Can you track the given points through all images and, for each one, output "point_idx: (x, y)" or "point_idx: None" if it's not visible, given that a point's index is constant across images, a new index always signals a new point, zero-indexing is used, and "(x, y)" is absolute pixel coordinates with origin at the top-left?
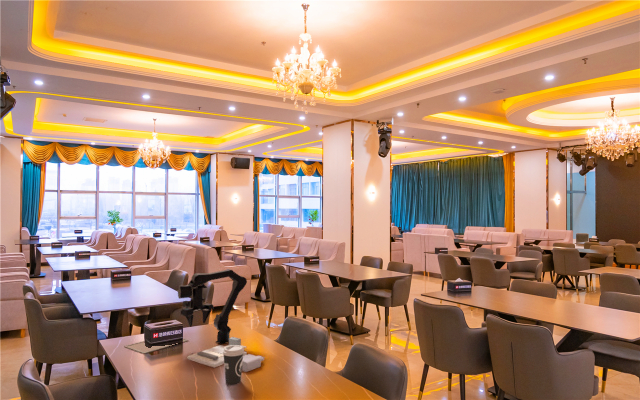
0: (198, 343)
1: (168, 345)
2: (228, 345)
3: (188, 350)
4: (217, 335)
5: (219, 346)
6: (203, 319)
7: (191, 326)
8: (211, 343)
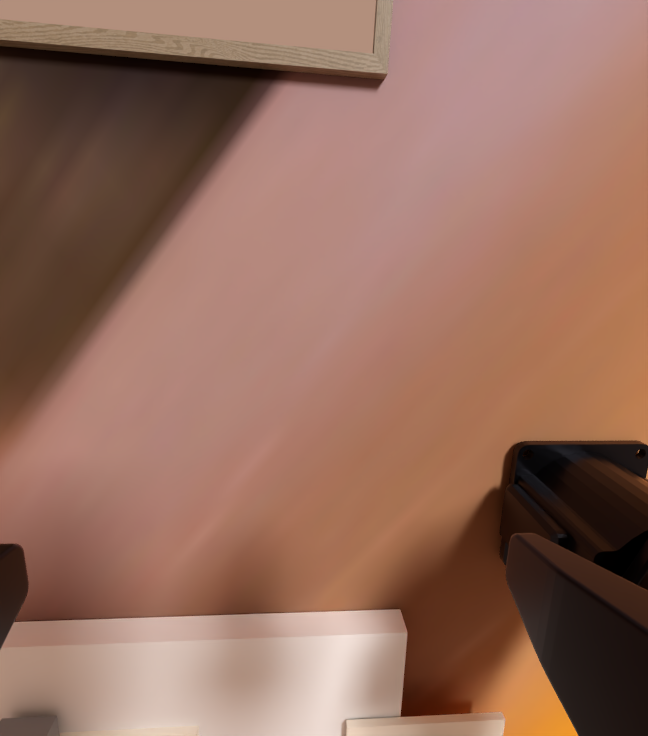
0: (382, 295)
1: (32, 7)
2: (421, 730)
3: (122, 412)
4: (549, 540)
5: (364, 661)
6: (575, 622)
7: (22, 598)
8: (466, 427)
